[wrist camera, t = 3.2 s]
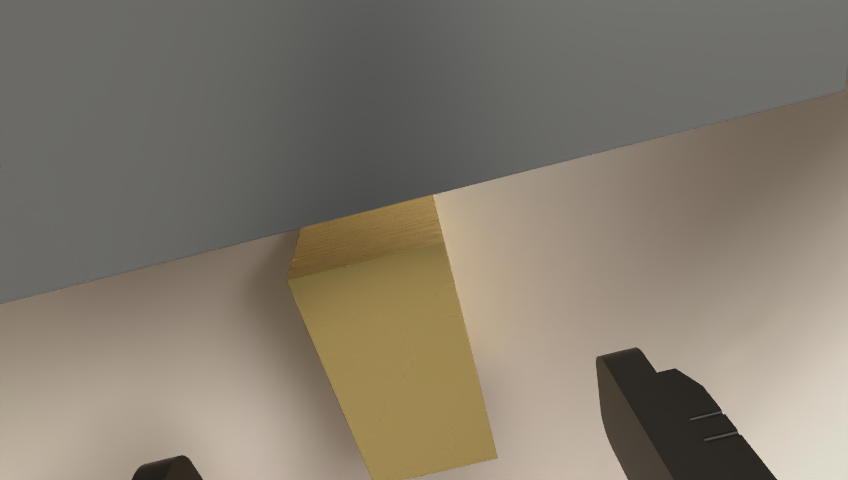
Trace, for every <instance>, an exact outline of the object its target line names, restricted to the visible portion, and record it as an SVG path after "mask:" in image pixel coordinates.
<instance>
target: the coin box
mask: <svg viewBox="0 0 848 480" xmlns="http://www.w3.org/2000/svg"><path fill="white" fill-rule="evenodd" d="M847 70H848V0H0V304H2V303H6V302H9V301H13V300H17V299H21V298H25V297H29V296H33V295H37V294H41V293H45V292H49V291H53V290H57V289H61V288H65V287H69V286H73V285H77V284H81V283H85V282H89V281H93V280H97V279H101V278H104V277H108V276H112V275H116V274H120V273H124V272H128V271H132V270H136V269H140V268H144V267H148V266H152V265H156V264H160V263H164V262H168V261H172V260H176V259H180V258H184V257H188V256H192V255H196V254H200V253H203V252H207V251H211V250H215V249H219V248H223V247H227V246H231V245H235V244H239V243H243V242H247V241H251V240H255V239H259V238H263V237H267V236H271V235H275V234H279V233H283V232H287V231H291V230H295V229H298V228H302V227H306V226H310V225H314V224H318V223H322V222H326V221H330V220H334V219H338V218H342V217H346V216H350V215H354V214H358V213H362V212H366V211H370V210H374V209H378V208H382V207H386V206H390V205H393V204H397V203H401V202H405V201H409V200H413V199H417V198H421V197H425V196H429V195H433V194H437V193H441V192H445V191H449V190H453V189H457V188H461V187H465V186H469V185H473V184H477V183H481V182H485V181H489V180H492V179H496V178H500V177H504V176H508V175H512V174H516V173H520V172H524V171H528V170H532V169H536V168H540V167H544V166H548V165H552V164H556V163H560V162H564V161H568V160H572V159H576V158H580V157H584V156H587V155H591V154H595V153H599V152H603V151H607V150H611V149H615V148H619V147H623V146H627V145H631V144H635V143H639V142H643V141H647V140H651V139H655V138H659V137H663V136H667V135H671V134H675V133H679V132H683V131H686V130H690V129H694V128H698V127H702V126H706V125H710V124H714V123H718V122H722V121H726V120H730V119H734V118H738V117H742V116H746V115H750V114H754V113H758V112H762V111H766V110H770V109H774V108H778V107H781V106H785V105H789V104H793V103H797V102H801V101H805V100H809V99H813V98H817V97H821V96H825V95H829V94H833V93H837V92H841V91H844V90H845V83H846V77H847Z"/></svg>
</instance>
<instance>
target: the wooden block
mask: <svg viewBox="0 0 848 480" xmlns="http://www.w3.org/2000/svg"><path fill="white" fill-rule="evenodd" d="M287 283H288V286H289V288H290V290H291V293H292V295H293V297H294V300H295V302H296V304H297V307H298V309H299V311H300V314H301V316H302V318H303V321H304V323H305V325H306V328H307V330H308V332H309V334H310V337H311V339H312V341H313V344H314V346H315V348H316V351H317V353H318V355H319V358H320V360H321V362H322V365H323V367H324V369H325V372H326V374H327V376H328V379H329V381H330V383H331V386H332V388H333V390H334V392H335V395H336V397H337V399H338V402H339V404H340V406H341V409H342V411H343V413H344V416H345V418H346V420H347V423H348V425H349V427H350V430H351V432H352V434H353V437H354V439H355V441H356V444H357V446H358V448H359V450H360V453H361V455H362V457H363V460H364V462H365V464H366V467H367V469H368V471H369V474H370V476H371V478H372V480H404V479H409V478H413V477H417V476H422V475H426V474H430V473H435V472H439V471H443V470H448V469H452V468H457V467H461V466H465V465H470V464H474V463H478V462H483V461H487V460H491V459H496V458H498V457H497V453H496V449H495V445H494V441H493V437H492V433H491V429H490V424H489V420H488V416H487V412H486V408H485V404H484V400H483V396H482V392H481V388H480V384H479V380H478V375H477V371H476V367H475V363H474V359H473V355H472V351H471V347H470V343H469V339H468V335H467V331H466V327H465V323H464V319H463V315H462V311H461V307H460V303H459V299H458V295H457V291H456V287H455V283H454V279H453V275H452V271H451V267H450V262H449V258H448V254H447V250H446V246H445V242H444V238H443V234H442V230H441V226H440V222H439V218H438V214H437V210H436V206H435V202H434V198H433V195H429V196H425V197H421V198H417V199H413V200H409V201H405V202H401V203H397V204H393V205H390V206H386V207H382V208H378V209H374V210H370V211H366V212H362V213H358V214H354V215H350V216H346V217H342V218H338V219H334V220H330V221H326V222H322V223H318V224H314V225H310V226H306V227H302V228H301V230H300V234H299V237H298V241H297V245H296V248H295V252H294V255H293V259H292V263H291V266H290V270H289V273H288V277H287Z"/></svg>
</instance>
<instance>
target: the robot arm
mask: <svg viewBox="0 0 848 480" xmlns="http://www.w3.org/2000/svg"><path fill="white" fill-rule="evenodd" d="M596 368H597V378H598V388H599V398H600V407H601V415H602V420H603V424H604V428H605V431H606V434H607V437H608V439H609V442H610V444H611V446H612V449H613V451H614V453H615V455H616V457H617V459H618V461H619V463H620V465H621V466H622V468H623V470H624V472H625V474H626V476H627V478H628V480H777V479H776V478H775V477H774V475H773V474H772V473H771V472H770V470H769V469H768V468H767V466H766V465H765V464H764V463H763V461H762V460H761V459H760V458H759V456H758V455H757V454H756V453H755V451H754V450H753V449H752V448H751V446H750V445H749V444H748V443H747V441H746V440H745V439H744V437H743V436H742V435H739V434H738V431H737V429H736V427H735V426H734V425H733V424H732V422H731V421H730V420H729V419H728V417H727V416H726V415H723V413H722V411H721V408H720V407H719V406H718V405H717V403H716V402H715V401H714V400H713V398H712V397H711V396H710V395H709V393H708V392H707V391H706V390H705V388H704V387H703V386H702V385H700V384H699V383H697V382H696V381H694V380H693V379H691V378H690V377H688V376H686V375H685V374H683V373H682V372H680V371H679V370H677V369H671V370H667V371H662V372H658V373H657V372H656V371H655V369H654V368H653V367H652V365H651V364H650V362H649V361H648V360H647V358H646V357H645V355H644V354H643V353H642V351H641V350H640V349H638V348H636V347H635V348H631V349H627V350H623V351H619V352H614V353H610V354H606V355H602V356H598V357H597V358H596ZM132 480H203V479H202V477H201V476H200V474H199V473H198V471H197V470H196V468H195V467H194V465H193V464H192V462H191V461H190V459H189V458H187V457H186V456H183V455H181V456H177V457H173V458H168V459H164V460H160V461H156V462H152V463H148V464H144V465H142V466H140V467H139V468H138V469H137V471H136V472H135V474H134V476H133V478H132Z"/></svg>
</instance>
